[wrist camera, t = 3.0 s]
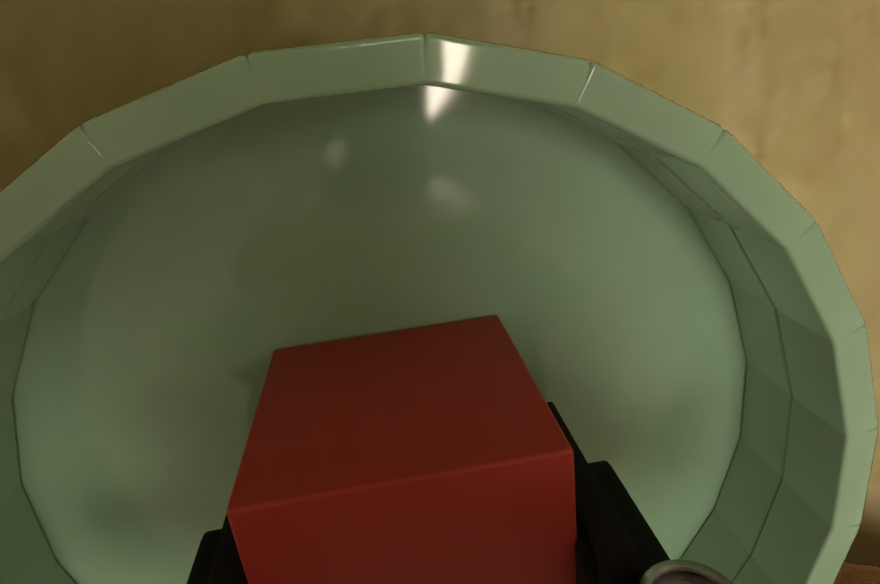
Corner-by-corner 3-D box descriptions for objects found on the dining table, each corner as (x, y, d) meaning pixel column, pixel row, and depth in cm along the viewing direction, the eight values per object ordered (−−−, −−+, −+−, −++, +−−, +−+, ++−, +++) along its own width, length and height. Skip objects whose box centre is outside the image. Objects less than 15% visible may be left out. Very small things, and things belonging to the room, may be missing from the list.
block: (272, 348, 11) (223, 511, 7) (498, 313, 12) (575, 449, 8) (329, 583, 14) (316, 812, 9) (518, 548, 14) (586, 754, 10)
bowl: (-145, 536, 12) (-324, 704, 9) (304, -189, 9) (274, -329, 6) (457, 769, 17) (480, 931, 14) (885, 359, 14) (1042, 446, 11)
